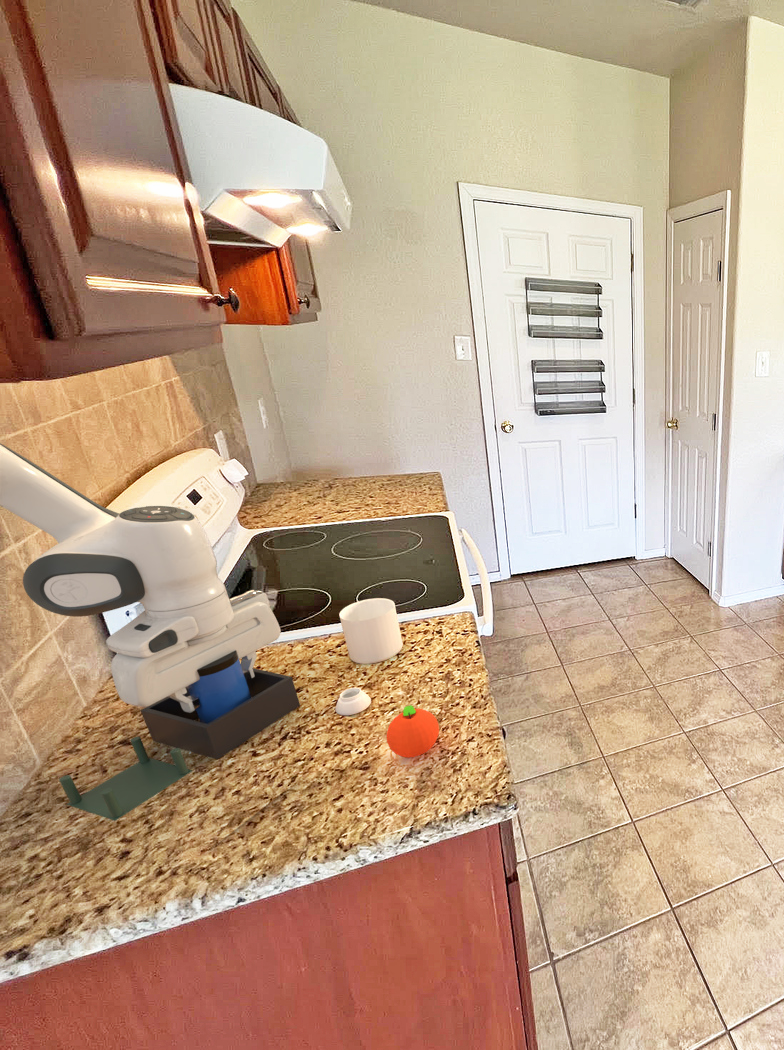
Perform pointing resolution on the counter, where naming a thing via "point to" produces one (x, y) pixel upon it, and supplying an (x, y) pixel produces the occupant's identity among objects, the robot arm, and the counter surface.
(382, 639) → the mug
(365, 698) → the small white bowl
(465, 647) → the counter surface
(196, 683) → the travel mug
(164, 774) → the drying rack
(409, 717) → the clementine
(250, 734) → the dark brown open bin
